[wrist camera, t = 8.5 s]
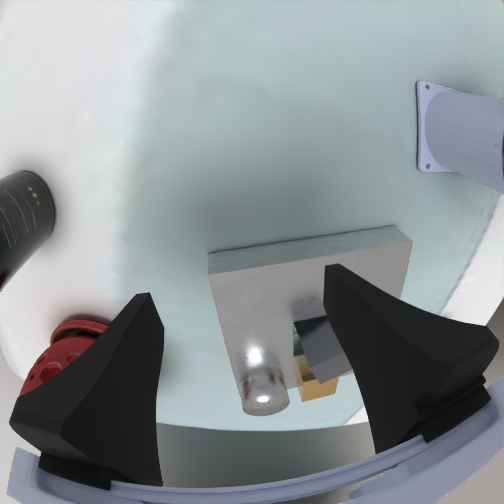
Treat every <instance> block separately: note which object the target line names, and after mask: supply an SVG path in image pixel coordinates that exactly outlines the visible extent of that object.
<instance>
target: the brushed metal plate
mask: <svg viewBox="0 0 504 504" xmlns="http://www.w3.org/2000/svg"><path fill="white" fill-rule="evenodd" d="M411 247H412V240H411V239H410V238H408V237H407V236H406V235H405V234H403V233H402V232H401V231H400V230H398V229H397V228H396V227H395V226H389V227H382V228H375V229H368V230H361V231H354V232H347V233H341V234H334V235H327V236H320V237H314V238H307V239H300V240H293V241H287V242H280V243H273V244H267V245H260V246H254V247H247V248H241V249H234V250H227V251H221V252H214V253H209V265H208V276H209V280H210V285H211V289H212V293H213V297H214V301H215V305H216V309H217V313H218V317H219V321H220V325H221V329H222V333H223V337H224V340H225V344H226V348H227V351H228V355H229V359H230V362H231V366H232V369H233V373H234V376H235V380H236V383H237V387H238V390H239V394H240V397H241V398H242V407H243V411H244V412H245V413H247V414H249V415H253V416H267V415H272V414H276V413H278V412H280V411H282V410H284V409H285V408H286V407H287V406H288V405H289V402H290V401H289V397H288V393H287V389H290V388H295V387H298V390H299V393H300V397H301V400H302V402H304V401H308V400H312V399H316V398H320V397H324V396H328V395H332V394H335V391H336V387H337V383H338V379H339V377H341V376H344V375H348V374H351V373H354V371H353V369H352V370H350V371H348V372H346V373H344V374H342V375H340V376H338V377H336V378H333V379H331V380H329V381H327V382H325V383H322V384H320V383H319V382H318V380H317V379H316V377H315V376H314V375H313V373H312V372H311V370H310V369H309V366H308V363H307V360H306V357H305V354H304V351H303V348H302V345H301V342H300V339H299V336H298V333H297V332H296V333H293V322H295V321H300V320H306V319H310V318H315V317H320V316H325V315H326V312H325V309H324V306H323V293H324V274H325V266H326V265H331V264H337V263H339V264H341V265H343V266H344V267H346V268H348V269H349V270H351V271H352V272H354V273H355V274H357V275H359V276H360V277H362V278H363V279H365V280H366V281H368V282H370V283H371V284H373V285H374V286H376V287H378V288H380V289H381V290H383V291H385V292H386V293H388V294H390V295H392V296H394V297H396V298H397V299H399V300H400V297H401V293H402V289H403V285H404V281H405V276H406V272H407V267H408V262H409V258H410V252H411Z"/></svg>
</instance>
